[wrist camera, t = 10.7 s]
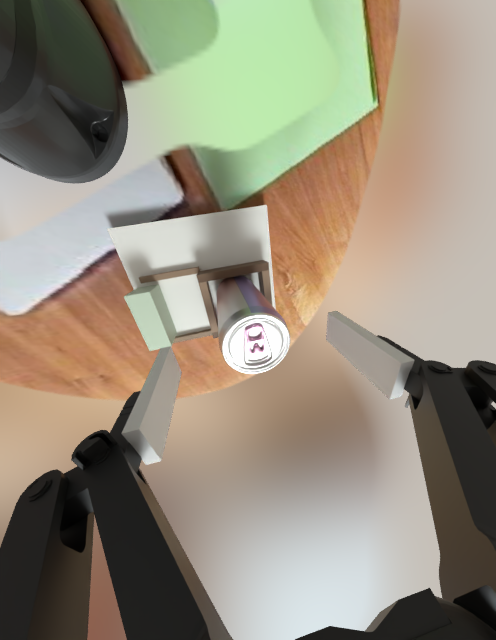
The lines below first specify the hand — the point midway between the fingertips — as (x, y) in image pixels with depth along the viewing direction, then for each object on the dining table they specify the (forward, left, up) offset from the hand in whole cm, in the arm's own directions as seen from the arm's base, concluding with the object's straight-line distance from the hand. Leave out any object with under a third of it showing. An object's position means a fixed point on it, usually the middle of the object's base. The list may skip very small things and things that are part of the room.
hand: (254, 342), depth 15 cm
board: (-3, -4, -16) cm, 16 cm away
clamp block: (0, -12, -14) cm, 19 cm away
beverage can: (0, 0, -15) cm, 15 cm away
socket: (0, 0, -14) cm, 14 cm away
